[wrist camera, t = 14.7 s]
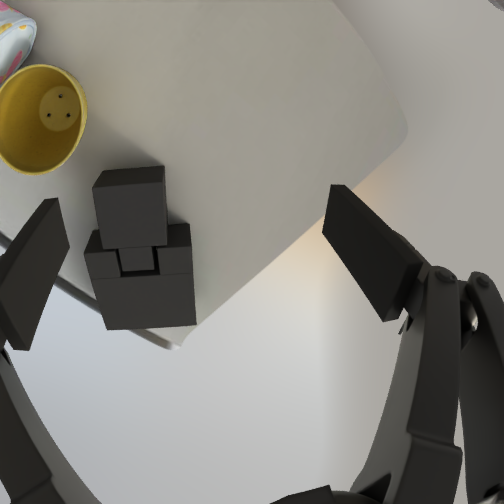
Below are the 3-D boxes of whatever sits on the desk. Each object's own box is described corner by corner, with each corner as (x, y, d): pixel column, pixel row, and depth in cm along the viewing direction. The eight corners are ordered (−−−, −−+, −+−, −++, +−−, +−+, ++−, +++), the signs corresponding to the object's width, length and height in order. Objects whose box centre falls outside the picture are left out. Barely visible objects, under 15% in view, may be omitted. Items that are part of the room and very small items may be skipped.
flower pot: (20, 152, 26) (-10, 174, 20) (26, 64, 21) (-8, 68, 15) (98, 155, 29) (79, 178, 24) (110, 63, 24) (91, 62, 18)
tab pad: (164, 165, 32) (162, 181, 28) (169, 244, 37) (169, 268, 33) (102, 170, 30) (91, 187, 26) (114, 247, 36) (108, 272, 32)
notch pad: (189, 223, 36) (191, 246, 32) (193, 299, 43) (196, 325, 39) (92, 230, 34) (83, 253, 30) (111, 304, 41) (106, 330, 36)
